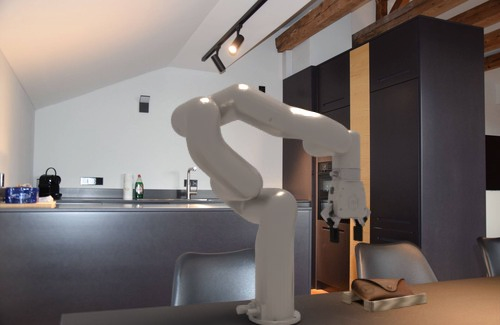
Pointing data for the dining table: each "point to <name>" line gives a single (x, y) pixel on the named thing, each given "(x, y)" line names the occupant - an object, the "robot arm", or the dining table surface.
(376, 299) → the sunglasses case
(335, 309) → the dining table surface
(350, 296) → the wooden pieces
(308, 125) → the robot arm
